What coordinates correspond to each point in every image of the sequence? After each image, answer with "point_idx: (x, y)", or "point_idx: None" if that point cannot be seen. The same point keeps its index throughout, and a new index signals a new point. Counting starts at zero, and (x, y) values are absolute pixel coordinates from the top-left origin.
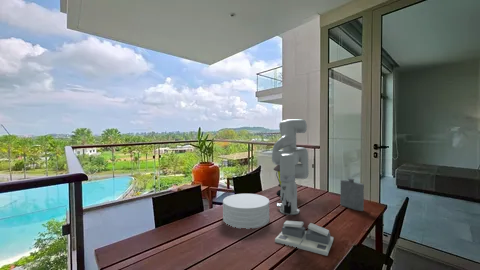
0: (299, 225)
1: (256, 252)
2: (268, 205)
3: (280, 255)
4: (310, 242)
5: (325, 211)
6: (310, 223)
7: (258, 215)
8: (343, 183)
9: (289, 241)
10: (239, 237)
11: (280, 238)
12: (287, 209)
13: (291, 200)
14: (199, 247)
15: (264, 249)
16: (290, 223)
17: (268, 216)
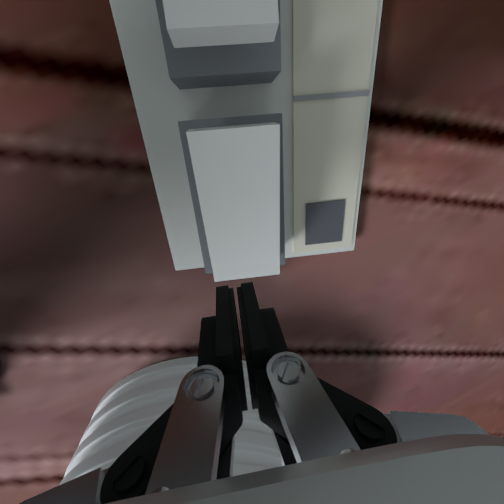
0: (279, 139)
1: (459, 261)
2: (109, 465)
3: (460, 163)
4: (308, 25)
5: None
6: (190, 20)
7: (245, 420)
8: None
9: (355, 170)
10: (368, 362)
11: (341, 228)
12: (280, 335)
13: (414, 478)
14: (469, 397)
15: (427, 248)
16: (264, 230)
17: (158, 388)
